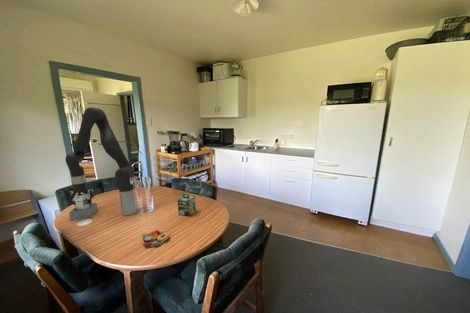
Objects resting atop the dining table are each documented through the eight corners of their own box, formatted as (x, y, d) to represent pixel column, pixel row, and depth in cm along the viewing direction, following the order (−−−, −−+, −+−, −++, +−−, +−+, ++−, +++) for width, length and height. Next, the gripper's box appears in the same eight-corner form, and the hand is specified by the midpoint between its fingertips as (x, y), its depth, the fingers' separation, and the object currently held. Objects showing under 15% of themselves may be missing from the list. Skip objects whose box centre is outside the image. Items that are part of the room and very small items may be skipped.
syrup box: (84, 216, 130) (81, 196, 127) (77, 215, 131) (73, 195, 128) (92, 212, 136) (89, 193, 133) (85, 211, 137) (82, 192, 134)
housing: (97, 210, 140) (96, 202, 139) (90, 218, 130) (89, 209, 128) (79, 212, 137) (77, 204, 136) (70, 220, 127) (69, 211, 125)
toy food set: (172, 240, 106) (172, 234, 106) (148, 252, 97) (148, 246, 96) (160, 230, 115) (160, 225, 114) (137, 241, 105) (137, 235, 105)
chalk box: (196, 210, 139) (195, 191, 136) (190, 216, 130) (188, 196, 127) (185, 209, 142) (183, 190, 139) (178, 215, 133) (176, 195, 130)
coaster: (94, 219, 128) (94, 218, 128) (89, 225, 121) (89, 224, 121) (80, 220, 126) (80, 220, 126) (74, 227, 119) (74, 226, 119)
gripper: (93, 179, 134) (97, 201, 137) (69, 181, 130) (73, 203, 134) (88, 182, 127) (92, 205, 130) (63, 184, 123) (67, 208, 127)
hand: (83, 204), depth 132 cm, fingers closed on syrup box, 7 cm apart
